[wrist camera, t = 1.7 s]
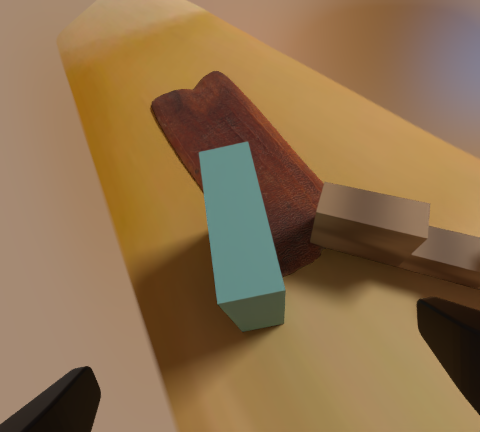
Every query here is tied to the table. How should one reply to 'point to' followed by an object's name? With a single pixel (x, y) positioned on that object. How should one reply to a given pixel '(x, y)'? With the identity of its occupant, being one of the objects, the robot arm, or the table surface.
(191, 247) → the table surface
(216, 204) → the teal flat block
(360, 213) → the walnut notched bar
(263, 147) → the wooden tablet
